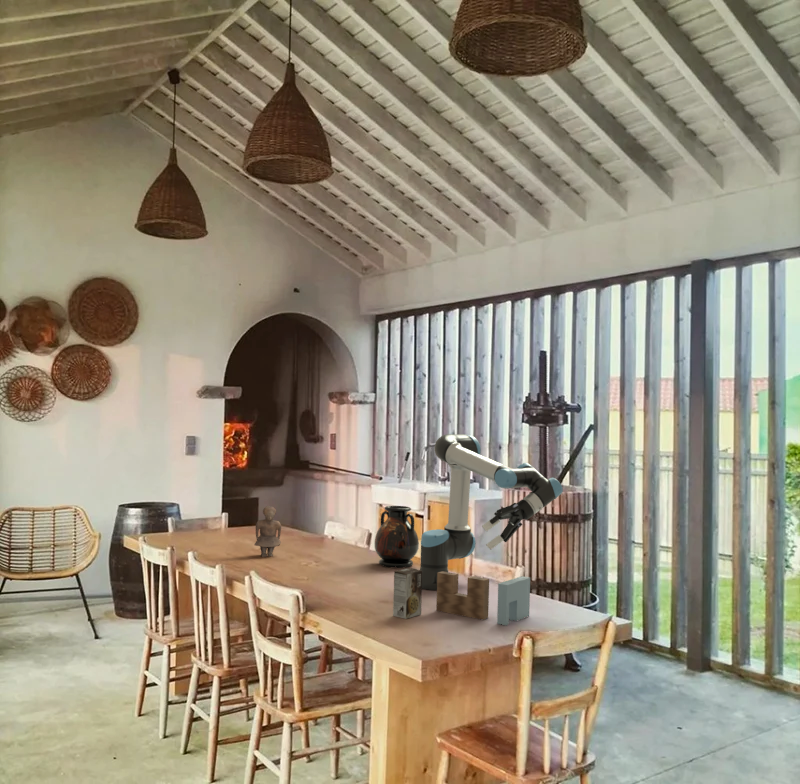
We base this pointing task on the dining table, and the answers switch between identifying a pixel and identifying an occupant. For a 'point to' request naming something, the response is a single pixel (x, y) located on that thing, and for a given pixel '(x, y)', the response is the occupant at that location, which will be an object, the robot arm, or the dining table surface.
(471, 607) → the u-shaped checkered block
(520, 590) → the light blue block
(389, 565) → the amphora vase
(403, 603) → the coffee box
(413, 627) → the dining table surface
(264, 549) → the clay figurine
